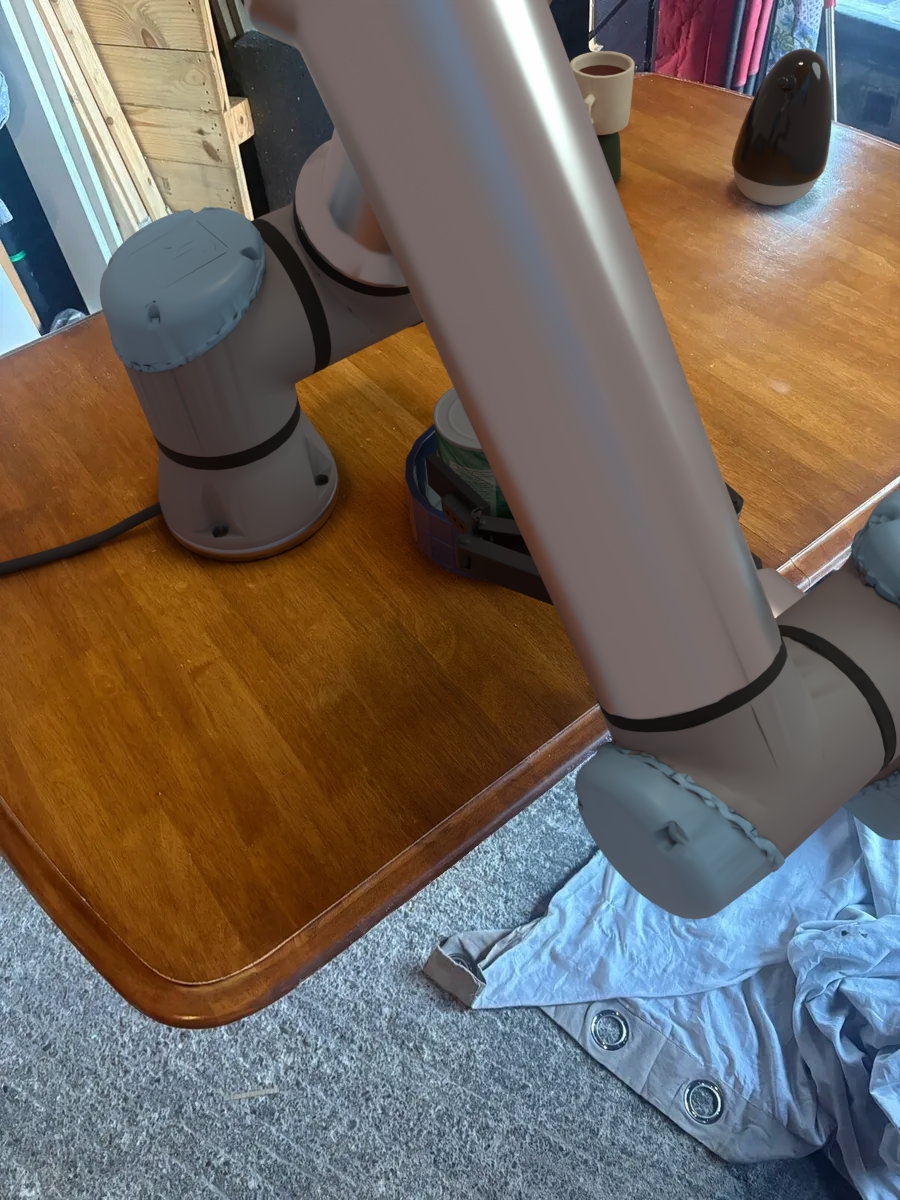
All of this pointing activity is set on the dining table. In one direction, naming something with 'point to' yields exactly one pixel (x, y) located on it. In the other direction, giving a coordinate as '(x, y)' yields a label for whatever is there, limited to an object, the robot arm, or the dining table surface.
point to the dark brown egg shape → (785, 131)
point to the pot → (429, 508)
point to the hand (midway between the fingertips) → (507, 427)
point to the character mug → (606, 98)
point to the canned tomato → (466, 452)
